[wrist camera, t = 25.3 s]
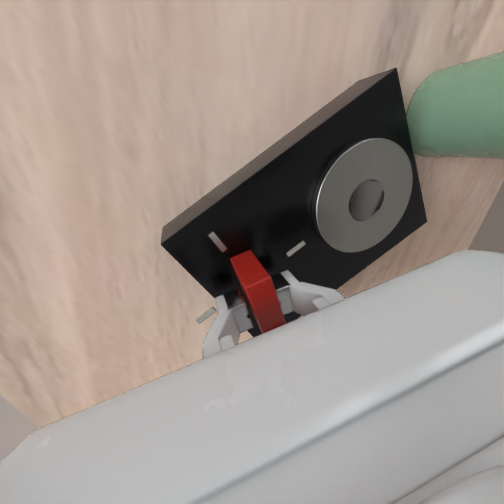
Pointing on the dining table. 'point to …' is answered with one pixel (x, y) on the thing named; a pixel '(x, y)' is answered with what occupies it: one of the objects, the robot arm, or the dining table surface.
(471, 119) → the saucepan
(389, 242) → the hob
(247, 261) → the knob
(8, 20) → the dining table surface
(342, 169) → the burner
